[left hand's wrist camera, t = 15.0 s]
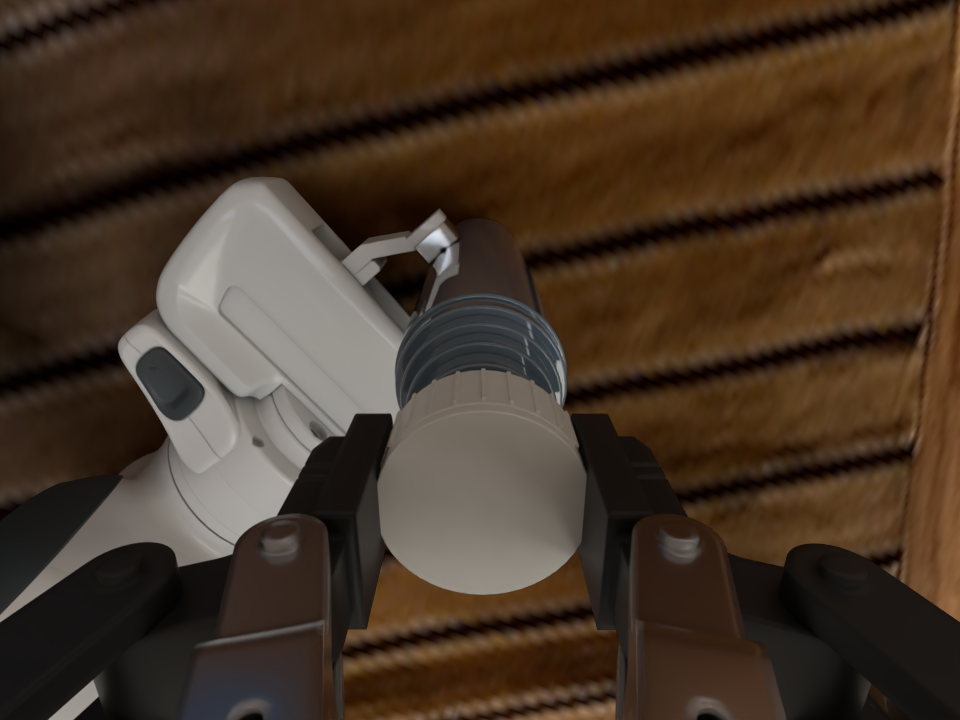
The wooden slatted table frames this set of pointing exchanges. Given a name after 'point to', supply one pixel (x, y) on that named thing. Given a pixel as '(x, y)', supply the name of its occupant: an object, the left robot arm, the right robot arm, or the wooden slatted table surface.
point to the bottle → (480, 317)
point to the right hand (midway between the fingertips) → (493, 274)
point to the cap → (482, 484)
